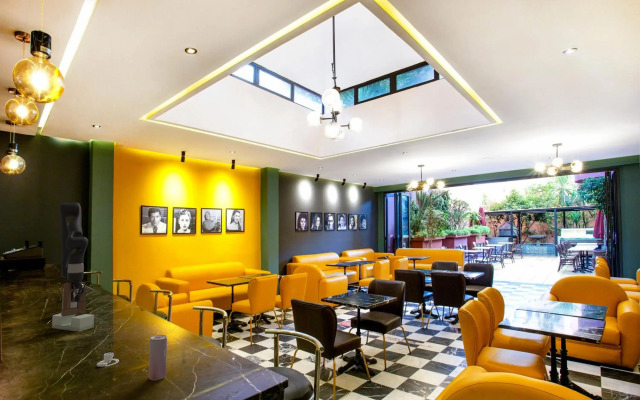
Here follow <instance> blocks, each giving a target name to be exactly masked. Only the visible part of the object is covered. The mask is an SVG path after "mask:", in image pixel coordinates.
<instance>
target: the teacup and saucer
mask: <svg viewBox="0 0 640 400" xmlns="http://www.w3.org/2000/svg"><path fill="white" fill-rule="evenodd" d="M114 355H115V353H114V352H112V351H111V352H105V353H103V360H100V361H99V362H97V363H96V367H101V368H102V367H109V366H113V365H116V364H118V363H119V362H120V360H119V359H118V358H113V357H114ZM112 361H115V362H113V363H112Z"/></svg>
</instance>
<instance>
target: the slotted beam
mask: <svg viewBox="0 0 640 400" xmlns="http://www.w3.org/2000/svg"><path fill="white" fill-rule="evenodd" d="M51 321H52V323H51V328H52V329H55V330H57V329H58V330H64V331H71V332H72V331H73V332H83V331H86V330H89V329H92V328H94V325H95V323H94V322H95V314H90V313H85V314H84V313H82V314H78V315H69V316H61V313H58V314H57V313H56V314H53V315H52V320H51Z"/></svg>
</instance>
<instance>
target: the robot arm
mask: <svg viewBox="0 0 640 400" xmlns="http://www.w3.org/2000/svg"><path fill="white" fill-rule="evenodd" d="M58 207H59V209H58V210H59V219H60V220H59V221H60V247H61V267H60V275H61V278H63V279H66V280H67V281H68V283H71V284H72V286H71V300H72V299H73V298H74V297H75V302H71V305H70V308H73V307H77V302H79V301H80V295H81V294H83V292H84V288H86V283H82V280H83V279H84V269H85V266H84V262H85V261H84V257H85V254H86V253H85V252H86V251H87V248H88V245H89V239H88V238H87V237H85V236H83V234H84V233H83V227H82V221H83V220H82V217H83V216H82V206H81V204H80V203H79V202H62V203H60V204H59V206H58ZM67 218H73V219H72V220H70V222H68V219H67ZM76 250H79V251H77V252H75V251H76ZM62 290H64V284H63V289H62ZM81 290H82V291H81ZM62 308H63V300H62V305H61V309H62ZM75 316H77V314H75Z"/></svg>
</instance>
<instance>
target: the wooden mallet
mask: <svg viewBox="0 0 640 400" xmlns="http://www.w3.org/2000/svg"><path fill="white" fill-rule="evenodd" d="M63 285H64V290H63V289H62V290H63V291H62V301H63V308H62V307H61V313H60V314H61V316H69V315H75V314H76V315H82V314H84V313H85V314H86V302H87V301H86V300H87V288H86V287H85V288H84V292H83V294H81V295H80V301H79V302H77V307H73V308H70V305H71V302H75V297H74V298H73V299H72V300H71V286H72V284H71V283H69V282H66V283H63ZM81 291H82V290H81ZM76 315H75V316H76Z"/></svg>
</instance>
